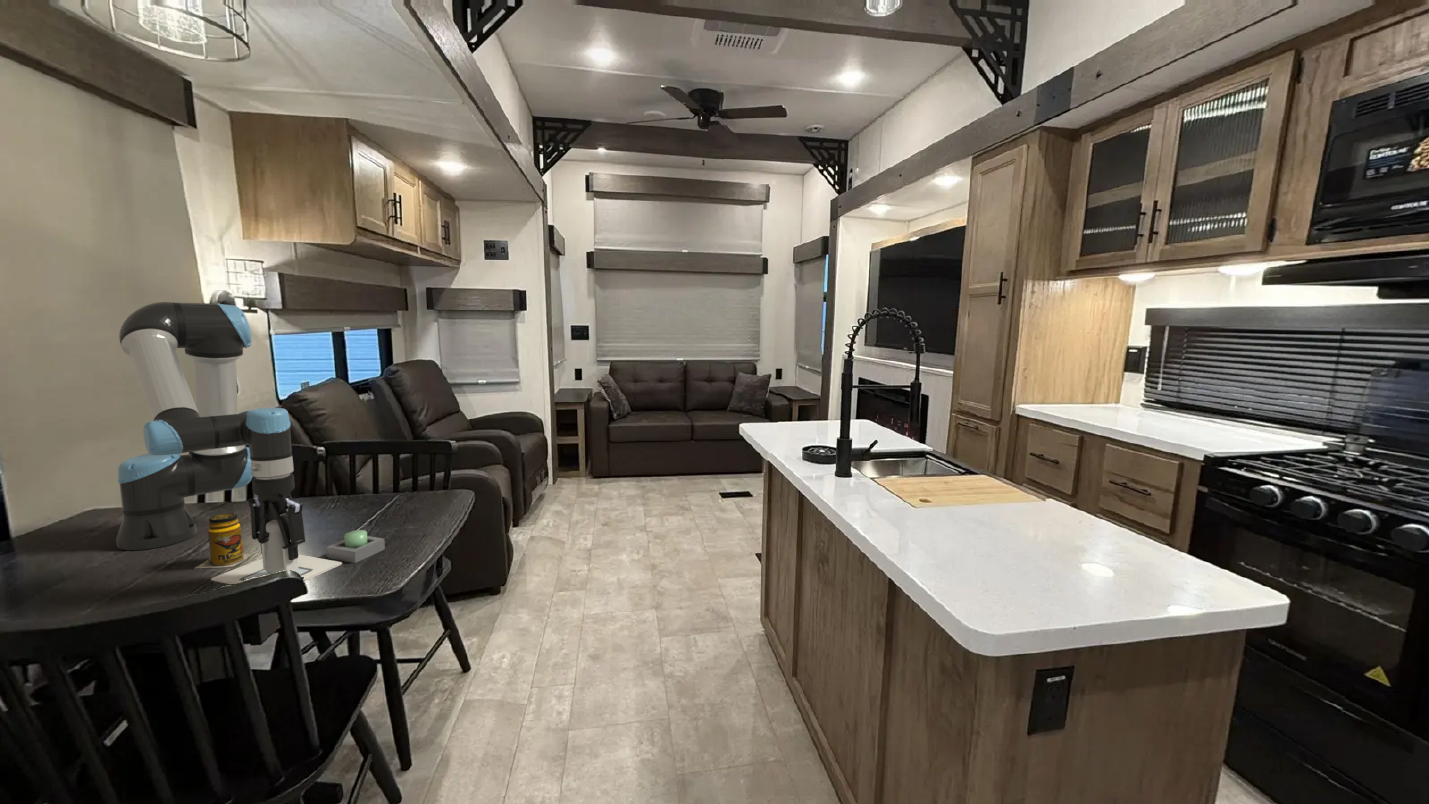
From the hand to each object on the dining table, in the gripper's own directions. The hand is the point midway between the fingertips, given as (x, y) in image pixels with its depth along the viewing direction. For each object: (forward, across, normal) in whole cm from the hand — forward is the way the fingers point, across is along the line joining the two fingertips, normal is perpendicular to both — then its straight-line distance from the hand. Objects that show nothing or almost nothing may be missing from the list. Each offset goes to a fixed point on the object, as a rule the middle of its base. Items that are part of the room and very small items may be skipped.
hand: (281, 569), depth 128 cm
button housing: (+2, +4, +16) cm, 17 cm away
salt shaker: (+1, 0, 0) cm, 1 cm away
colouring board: (+2, -4, +2) cm, 5 cm away
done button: (+1, +4, +16) cm, 17 cm away
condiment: (+2, -22, +2) cm, 22 cm away
